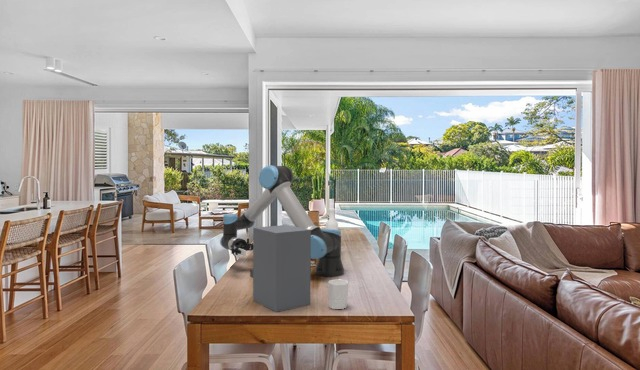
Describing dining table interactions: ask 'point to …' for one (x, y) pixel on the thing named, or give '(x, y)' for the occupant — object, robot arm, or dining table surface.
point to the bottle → (332, 220)
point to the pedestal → (281, 267)
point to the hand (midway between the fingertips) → (257, 251)
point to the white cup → (338, 293)
